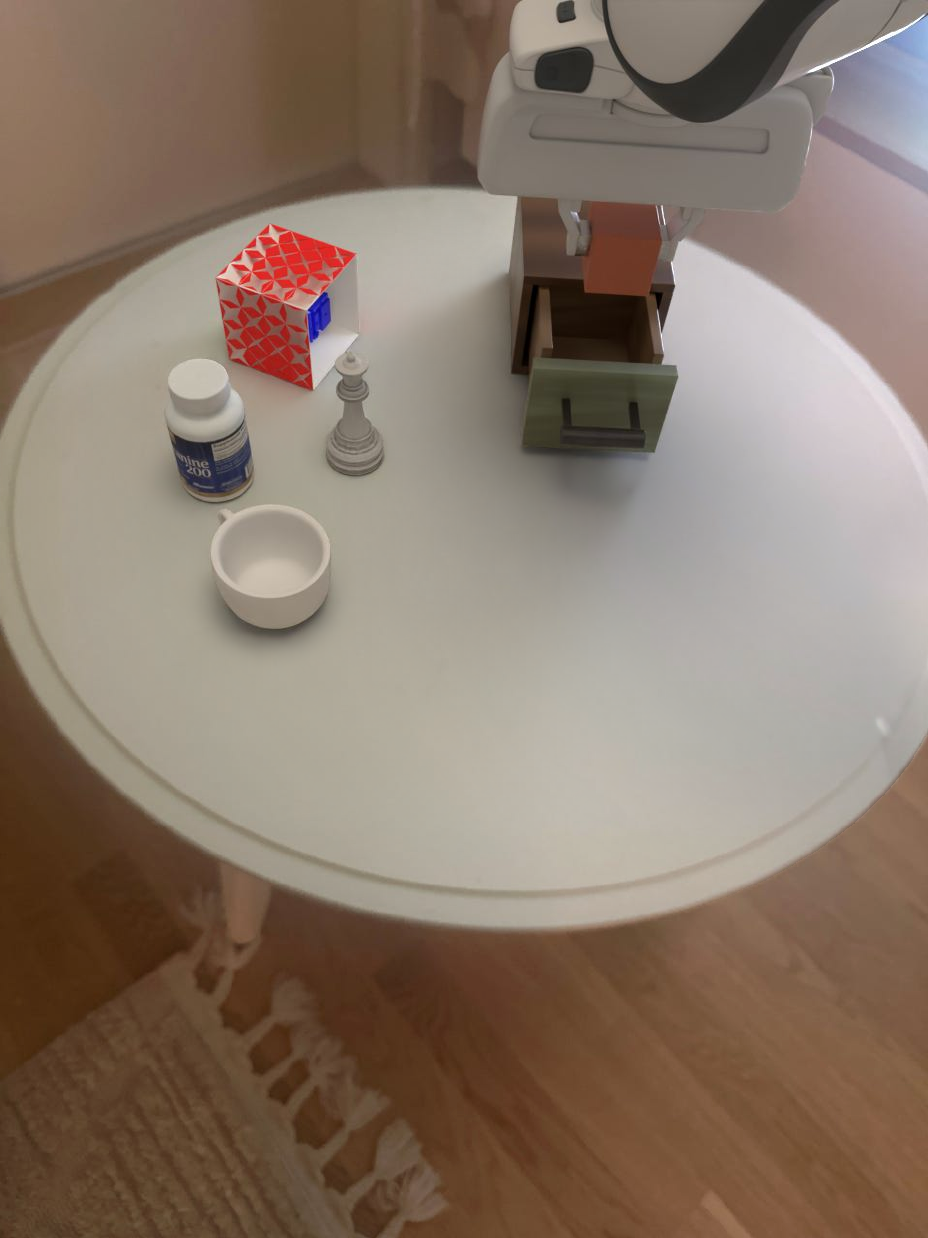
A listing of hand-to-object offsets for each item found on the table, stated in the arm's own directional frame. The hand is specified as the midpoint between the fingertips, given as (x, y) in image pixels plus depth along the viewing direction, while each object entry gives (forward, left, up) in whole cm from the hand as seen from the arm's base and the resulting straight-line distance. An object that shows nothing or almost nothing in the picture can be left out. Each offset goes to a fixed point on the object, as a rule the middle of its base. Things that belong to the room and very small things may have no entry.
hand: (618, 253), depth 67 cm
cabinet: (0, -12, -15) cm, 19 cm away
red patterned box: (+24, -7, -15) cm, 29 cm away
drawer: (0, 0, -14) cm, 14 cm away
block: (0, 0, -2) cm, 2 cm away
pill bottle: (+28, +8, -15) cm, 33 cm away
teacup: (+23, +18, -15) cm, 33 cm away
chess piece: (+18, +5, -15) cm, 24 cm away
